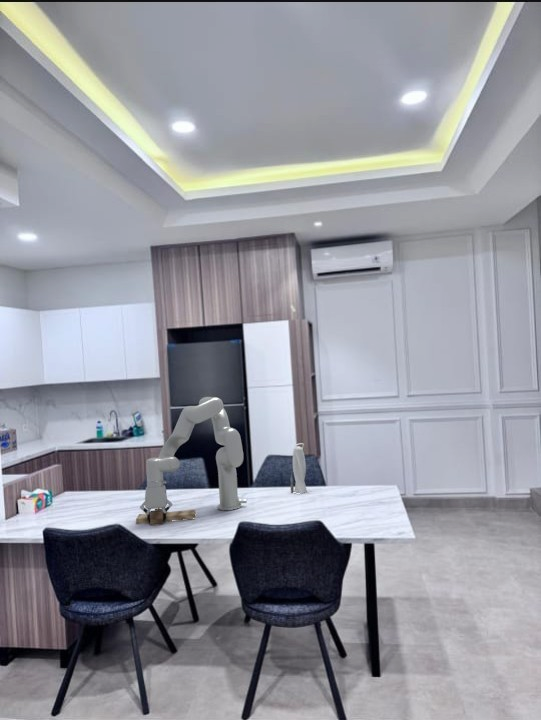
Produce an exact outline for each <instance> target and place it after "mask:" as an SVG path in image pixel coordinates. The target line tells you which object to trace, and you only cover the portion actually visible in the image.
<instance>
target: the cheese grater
mask: <svg viewBox="0 0 541 720" xmlns="http://www.w3.org/2000/svg"><path fill="white" fill-rule="evenodd" d="M298 445H302V447H301V446H298ZM304 446H305V443H303V442H300V443H297V444H295V445H294V446H293V451H292V452H293V453H292V471H293V473H292V472H290V481H289V482H290V486H289V487H290V492H291V493H290V494H293V492H296V493H300V494H299V495H302V494H305V493H304V492H306V493H308V489H307V486H306V482H305V478H306V470H307V467H306V466H307V464H306V458H305V457H306V456H305V453H304ZM293 477H294V478H293ZM294 480H295V484H294ZM294 485H295V486H294ZM301 493H302V494H301Z"/></svg>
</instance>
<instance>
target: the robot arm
mask: <svg viewBox="0 0 541 720" xmlns="http://www.w3.org/2000/svg"><path fill="white" fill-rule="evenodd" d="M209 419H211V422H212V427H213V433H214V439H215V442H216V444H219V445H221V446H223V447H220V448H219V449H218V450H217V451H216V455H215V461H216V466H217V473H218V475H217V476H218V490H219V491H218V492H219V504H218V505H217V506H216V508H218V509H217V510H220V511H224V510H228V511H234V510H233V509H235V510H238V509H240V508H241V507H242V504H247V502H248V501H247V499H246V498H245V499H244V498H239V496H238V495H239V494H238V477H237V475H238V474H237V469H236V468H239V467H240V466H241V465H242V464H243V462H244V451H243V444H242V439H241V435H240V433H239V431H238V430H237V429H236V428H233V427H231V426H230V421H229V417H228V414H227V411H226V409H225V407H224V403H223V400H222V399H221V398H219V397H217V396H205V397H204V396H203V397H202V398H201V399H200V400H199V402H198V405H189V406H186V407H184V408H183V409H182V411H181V413H180V414H179V418H178V420H177V422H176V425H175V427H174V429H173V431H172V433H171V435H170V436H169V437H168V439H167V440H166V441H165V443H164V444H163V446H162V448H161V450H160V452H159V454H158V457H150V458H148V459H146V461H145V462H146V463H145V466H146V469H145V470H146V483H147V484H146V487H145V494H144V502H142V504H141V505H140V506H139V509H141V510H142V511H143V513H144V514H147V520H148V521H149V523H148V524H150V511H152V509H158V508H159V509H162V510H163V522H164V523H166V522H165V519H166V512H169V510H170V508H171V507H172V506H173V503H172V501H170V500H169V499H168V494H167V488H166V485H165V484H167V481H166V480H164V474H163V473H173V472H176V471H177V470H178V469H179V468H180V460H179V459H178V458H177V457H176V456H175V453H176V452H177V450H178V449H179V448H180V446H182V445H183V444H185V443H186V442H187V441H189V439H190V436H191V435H192V432H193V429H194V428H195V425H197V424H200V423H203V422H205V421H207V420H209ZM237 508H238V509H237Z"/></svg>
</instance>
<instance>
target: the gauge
mask: <svg viewBox="0 0 541 720" xmlns="http://www.w3.org/2000/svg"><path fill="white" fill-rule="evenodd" d="M164 523H165V522H163V510H162V508H154V510H150V523H149V524H150V526H156V524H159V525H164Z"/></svg>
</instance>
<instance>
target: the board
mask: <svg viewBox="0 0 541 720" xmlns="http://www.w3.org/2000/svg"><path fill="white" fill-rule="evenodd" d="M195 514H196V509H186V510H175V511H173V510H172V511H167V512H166V519H165V521H168V522H173V521H172V520H180V521H184V520H183V519H192V520H194V519H193V518H195V519H196V516H195ZM135 522H136V525H140V524H142V523H144V524H150V523H149V521H148V520H147V514H146V513H139V514H138V515H137V517H136V519H135Z"/></svg>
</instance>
